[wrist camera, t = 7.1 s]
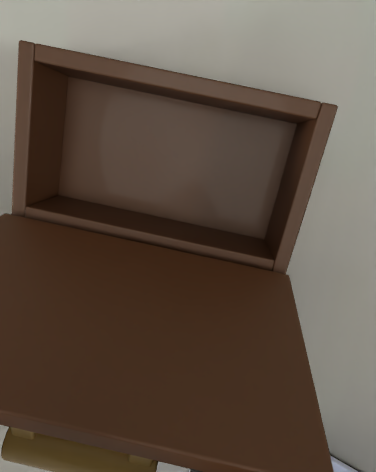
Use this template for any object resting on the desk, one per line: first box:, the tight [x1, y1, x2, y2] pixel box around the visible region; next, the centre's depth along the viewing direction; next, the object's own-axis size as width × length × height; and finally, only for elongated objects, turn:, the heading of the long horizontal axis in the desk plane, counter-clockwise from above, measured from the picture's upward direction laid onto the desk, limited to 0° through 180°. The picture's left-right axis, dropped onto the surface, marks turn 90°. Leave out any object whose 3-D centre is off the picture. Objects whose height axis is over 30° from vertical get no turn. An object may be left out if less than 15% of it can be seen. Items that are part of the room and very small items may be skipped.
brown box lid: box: [0, 214, 334, 472], centre depth 11 cm, size 7×12×4 cm
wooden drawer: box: [12, 40, 338, 274], centre depth 14 cm, size 7×12×4 cm, turn 79°
